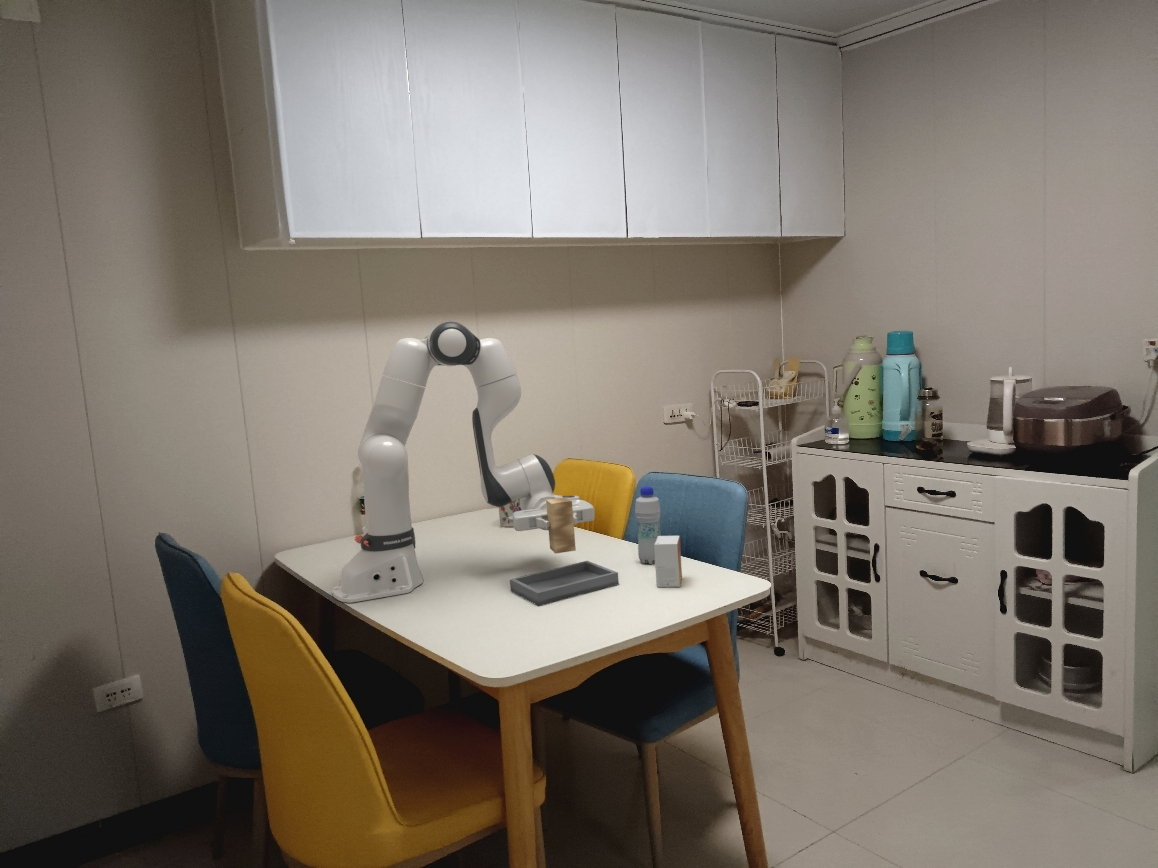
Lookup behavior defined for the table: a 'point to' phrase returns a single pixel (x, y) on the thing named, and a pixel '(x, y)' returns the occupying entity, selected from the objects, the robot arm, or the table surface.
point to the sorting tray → (563, 582)
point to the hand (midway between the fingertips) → (561, 523)
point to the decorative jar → (508, 513)
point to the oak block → (561, 525)
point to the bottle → (647, 523)
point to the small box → (668, 561)
